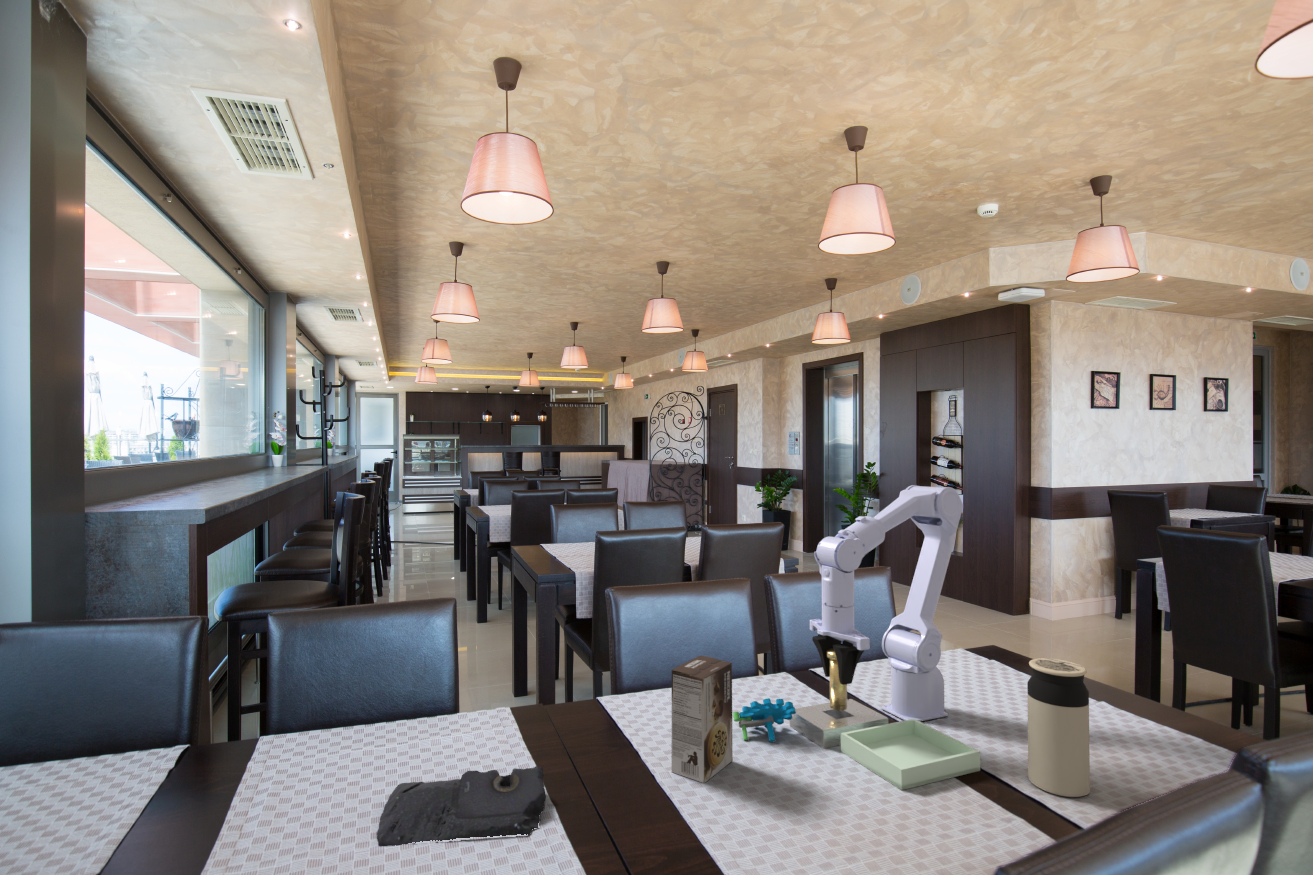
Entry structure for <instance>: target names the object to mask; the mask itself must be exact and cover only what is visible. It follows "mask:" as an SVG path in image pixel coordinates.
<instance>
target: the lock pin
mask: <svg viewBox="0 0 1313 875" xmlns="http://www.w3.org/2000/svg"><path fill="white" fill-rule="evenodd" d="M827 657H828V658H830V677H829V703H830V708H832V709H834V710H846V709H847V699H848V684H845V685H842V684H840V680H839V669H838V661H837V657H836V654H835V651H834V649H833V648H831V649H828V650H827Z"/></svg>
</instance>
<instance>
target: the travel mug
mask: <svg viewBox="0 0 1313 875" xmlns="http://www.w3.org/2000/svg"><path fill="white" fill-rule="evenodd" d="M1028 664H1029V667H1030V668H1031V676H1030V677H1029V679H1028V681H1027V682H1026V683H1027V684H1026V685H1027V764H1028V765H1027V772H1028V773H1027V775H1028V776H1027V777H1028V780H1029V781H1030V782H1031V783H1032V784H1033V785H1034V786H1036V787H1037V788H1039V789H1040V790H1043V791H1045V792H1047V793H1049V794H1052V795H1056V796H1059V797H1065V798H1067V797H1068V798H1079V797H1084V796H1086V795H1089V794H1090V792H1091V778H1090V775H1091V772H1090V771H1091V768H1090V767H1091V765H1090V764H1091V762H1090V757H1091V756H1090V753H1091V752H1090V694H1089V693H1090V691H1089V690H1088V688H1087V686H1086V684H1085V683H1084V680H1085V679H1084V678H1085V676H1086V674H1087V669H1086V668H1085V667H1084V666H1083V665H1081V664H1079V663H1075V662H1072V661H1069V660H1063V659H1058V658H1048V657H1043V658H1041V657H1040V658H1033V659H1031V660H1029V662H1028Z"/></svg>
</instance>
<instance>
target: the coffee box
mask: <svg viewBox="0 0 1313 875" xmlns="http://www.w3.org/2000/svg"><path fill="white" fill-rule="evenodd" d="M670 672H671V742H670V743H671V756H670V757H671V773H674V774H675V775H676V774H677V775H680V776H683V777H685V778H688V779H691V780H693V781H697V782H699V783H702V784H705V783H706V782H707V781H709V780H710V779H712V778H713V776H715V775H717V774H718V773H719V772H720V771H721V770H723V769H724V768H726V767H727V765H729V764H730V763H731V762H732V761H733V760H734V759H733V758H734V756H733V662H731V661H725V660H721V659H718V658H715V657H712V656H711V657H710V656H705V655H698V656H696V657H693V659H690V660H688V661H686V662H685V663H682V664H679V665H678V666H676V667H674V668H673V669H671V671H670Z"/></svg>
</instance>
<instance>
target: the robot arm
mask: <svg viewBox="0 0 1313 875" xmlns="http://www.w3.org/2000/svg"><path fill="white" fill-rule="evenodd" d="M963 509H964V504H963V502H962V499H961V497H960V494H959V493H958V491H957V490H956V489H955V488H953V487H950V486H947V487H946V486H945V487H940V486H926V485H925V486H922V485H921V486H920V485H917V484H912V485H909V486H907V487H906V488H905V489H903V490H900V492H899V495H898V497H897V498H896V499H895V500H893V501H892V502H891V503H890V504H888V505H887V506H886V507H884V508H883V509H882V510H881V511H879V512H878V513H877V514H876V515H875V516H873V517H872V516H869V515H865V516H863V515H862V516H857V517H856V518H855V519H854V520H855V522H854V523H852V524H851V525H849V526H847V527H846V528H845V529H840V530H839V531H838V532H837V534H836V535H834V536H825V537H824V538H822V539H821V540H820V541H819V542H818V544H817V547H816V551H814V553H813V554H814V555H813V556H814V559H815V562H816V563H817V565H818V568H819V574H820V576H821V619H820V618H815V619H814V618H813V619H809V630H810V631H811V632H814V631H815V632H817V635H813V636H812V638H811V641H812V642H813V644H814V645H815V647H816V649H817V653H818V655H819V657H820V661H821V665H822V670H823V674H824V676H825V677H827V678H830V658H828V657H827V650H828V649H831V648H833V649H834V651H835V654H836V657H837V661H838V669H839V680H840V684H842V685H845V684H847V685H850V684H853V679H854V676H855V671H856V668H857V665H858V663H859V661H860V659H861V657H862V655H863V653H864V652H865V651H866V650H870V649H871V648H870V646H871V645H870V644H871V643H870V642H871V641H870V637H868V636H866V635H864V634H862V633H861V632H860V631H859V630H857V629H856V628H855V570H858V568H859V567H860V565H861V563H862V560H863V558H864V557H865V556H866V555H868V554H869V552H871V551H872V550H874V549H875V548H877V547H878V546H879V545H881V544H883V543H884V541H885V539H886V533H887V532H888V531H890V530H892V529H894V528H896V527H897V526H899V525H900V524H902V523H904V522H905V521H907V520H909V519H910V520H911V521H912V522H913V523H914V524H915V525H916V527H917V528H918V529H920V531H922V533H923V535H924V538H923V543H922V546H921V550H920V553H919V556H918V561H917V564H916V566H915V571H914V575H913V577H912V578H913V579H912V581H911V585H910V590H909V593H908V596H907V600H906V604H905V606H904V610H903V612H901V613H900V614H898V615H896V616H894V617H893V618H892V619H891V621H890V623H889V627H888V628H887V630H886V631H885V632H884V634H883V636H882V639H881V648H882V652H883V654H884V656H886V658H887V663H888V664H890V673H891V674H890V688H891V689H890V699H891V700H890V704H886V705H885V704H884V705H881V707H880V708H881V710H883V711H885V712H887V713H889V714H890V715H893V716H895V717H897V718H899V719H901V720H902V721H905V720H910V719H916V720H918V721H920V722H925V721H929V720H933V719H940V718H945V717H948V716H949V714H948V712H946V711H945V680H944V677H943V674H942V672H941V670H940V668H938V667H937V665H939V662H940V660H941V657H942V656H941V655H942V652H941V651H942V650H941V644H942V643H941V642H942V639H943V634H942V632H941V631H940V630H939V628H938V627H937V625H936V624H935V623H934V619H935V615H936V611H937V607H938V603H939V599H940V597H941V592H942V589H943V585H944V582H945V578H946V574H947V571H948V570H947V569H948V567H949V563H950V558H951V556H952V552H953V548H954V544H955V541H956V537H957V530H958V527H959V524H960V519H961V516H962V512H963ZM913 631H914V632H913ZM916 632H918V633H916Z"/></svg>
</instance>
